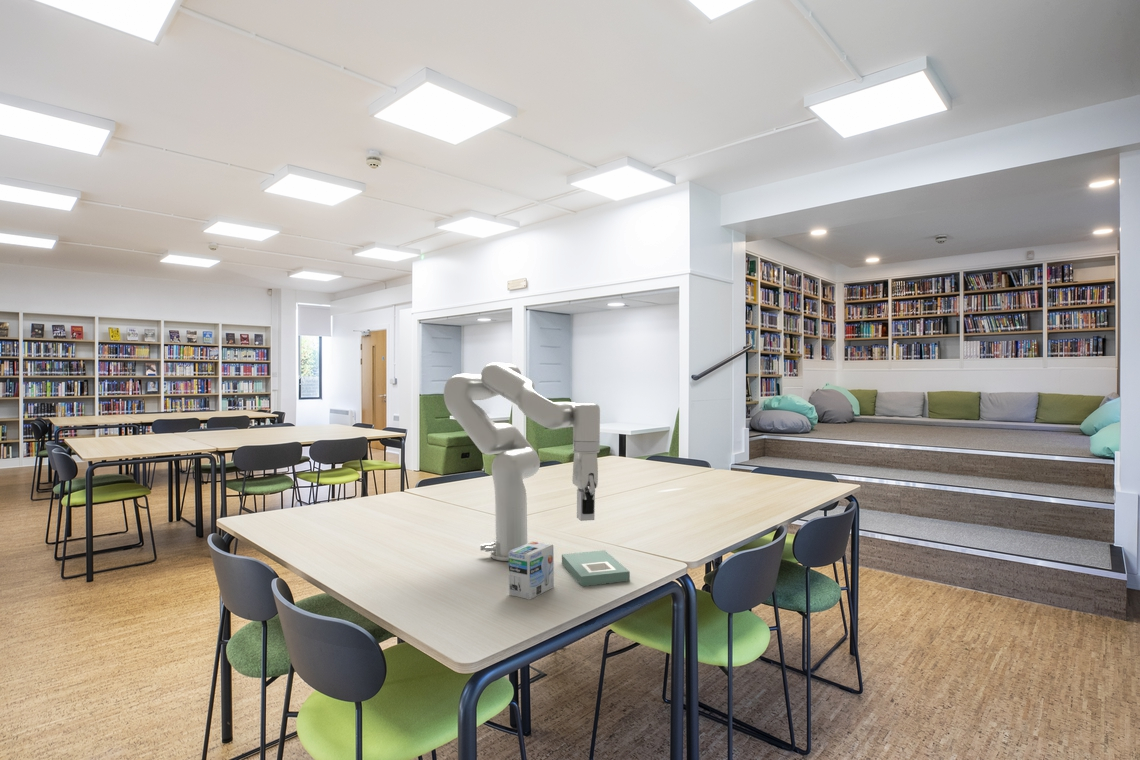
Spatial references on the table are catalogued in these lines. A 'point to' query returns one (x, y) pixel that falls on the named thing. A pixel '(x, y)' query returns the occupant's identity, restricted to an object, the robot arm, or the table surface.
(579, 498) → the plug
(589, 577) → the board
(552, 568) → the light bulb box
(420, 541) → the table surface
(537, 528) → the table surface
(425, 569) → the table surface
